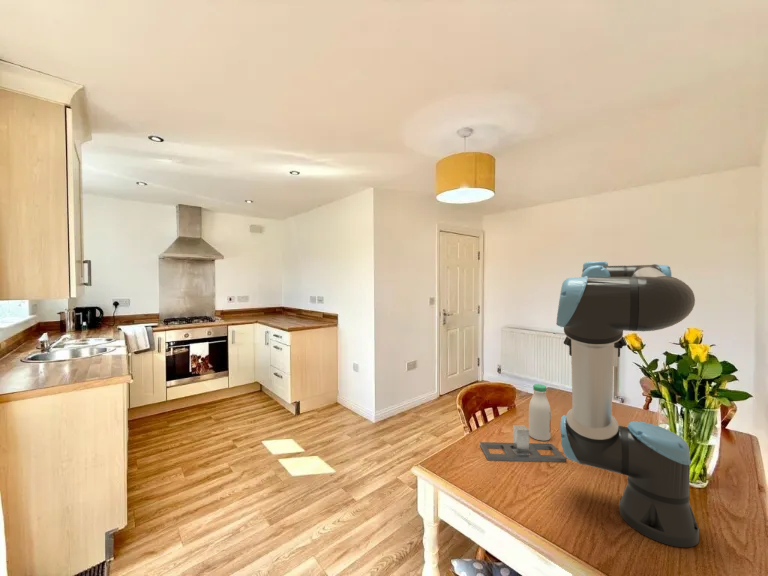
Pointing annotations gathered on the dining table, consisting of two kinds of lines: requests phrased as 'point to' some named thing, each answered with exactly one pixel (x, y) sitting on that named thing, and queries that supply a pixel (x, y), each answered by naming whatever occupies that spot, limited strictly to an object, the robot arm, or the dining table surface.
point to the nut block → (520, 439)
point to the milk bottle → (539, 414)
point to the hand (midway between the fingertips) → (594, 365)
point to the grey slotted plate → (520, 457)
